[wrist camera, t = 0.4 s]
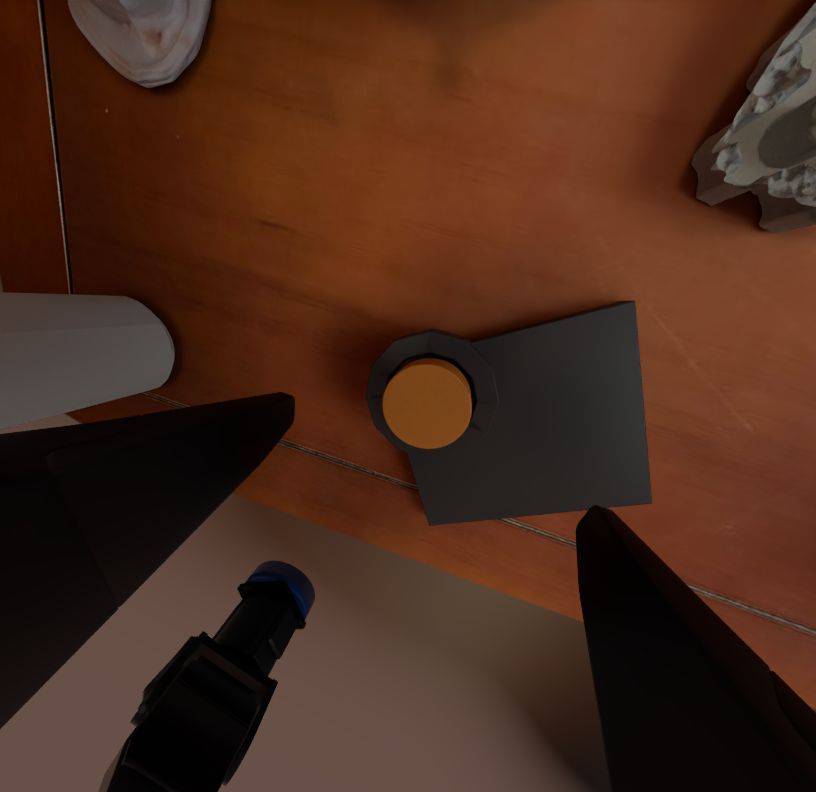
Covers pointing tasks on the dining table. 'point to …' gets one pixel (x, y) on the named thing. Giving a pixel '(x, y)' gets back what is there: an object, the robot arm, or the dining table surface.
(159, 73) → the seashell
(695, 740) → the robot arm
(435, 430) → the button
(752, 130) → the egg carton
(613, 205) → the dining table surface
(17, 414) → the can
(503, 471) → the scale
